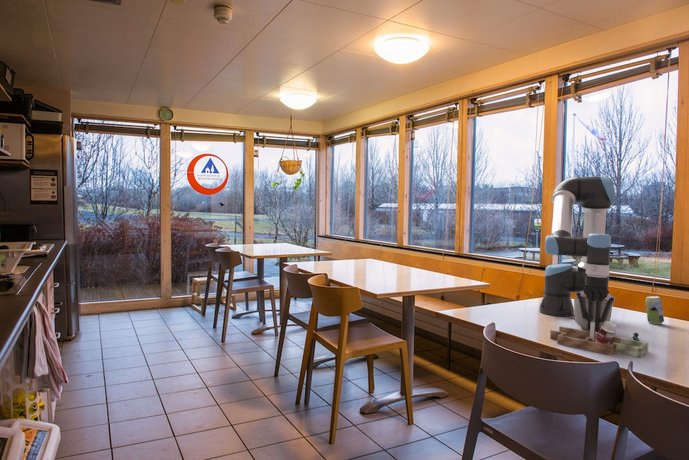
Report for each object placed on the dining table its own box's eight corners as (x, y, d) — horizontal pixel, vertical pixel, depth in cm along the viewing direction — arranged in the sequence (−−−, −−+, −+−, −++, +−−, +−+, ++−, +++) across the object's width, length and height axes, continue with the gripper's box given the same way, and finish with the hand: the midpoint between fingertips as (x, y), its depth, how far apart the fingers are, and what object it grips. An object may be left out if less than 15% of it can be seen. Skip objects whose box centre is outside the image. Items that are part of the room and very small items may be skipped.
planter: (565, 327, 197) (566, 296, 196) (588, 324, 202) (590, 295, 202) (594, 336, 184) (596, 303, 184) (618, 333, 190) (620, 301, 189)
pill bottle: (592, 338, 174) (601, 319, 171) (604, 340, 174) (613, 321, 172) (598, 345, 170) (607, 325, 167) (610, 348, 170) (620, 328, 167)
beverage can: (666, 325, 204) (668, 298, 204) (647, 324, 206) (649, 297, 205) (659, 322, 210) (661, 295, 210) (641, 321, 212) (643, 294, 211)
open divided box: (545, 340, 176) (545, 332, 176) (559, 333, 187) (560, 326, 187) (637, 360, 156) (637, 351, 155) (647, 351, 166) (648, 342, 166)
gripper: (574, 274, 174) (570, 337, 176) (613, 279, 165) (608, 345, 166) (581, 272, 180) (577, 333, 181) (619, 277, 171) (615, 341, 172)
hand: (592, 339), depth 174 cm, fingers closed
